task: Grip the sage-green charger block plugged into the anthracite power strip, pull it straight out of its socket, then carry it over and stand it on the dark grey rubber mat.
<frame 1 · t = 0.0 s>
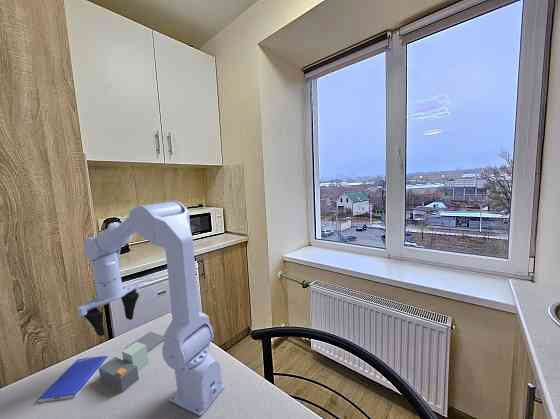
hand: (115, 326, 66), 10 cm above the table, tool pointing down, fingers open, 7 cm apart
mat: (147, 343, 74), on the table
charger: (137, 367, 65), on the table
power strip: (119, 379, 61), on the table
blue book: (77, 380, 62), on the table
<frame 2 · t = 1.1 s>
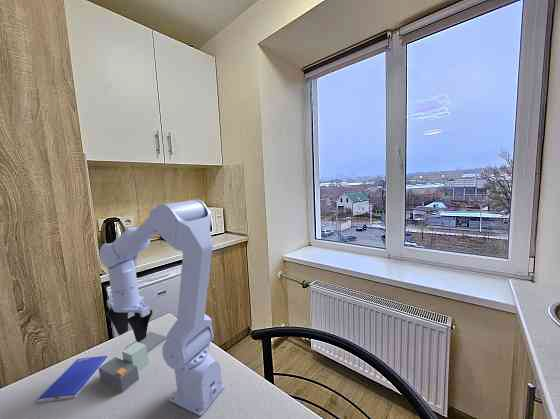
hand: (132, 336, 63), 9 cm above the table, tool pointing down, fingers open, 7 cm apart
nothing on the table moved.
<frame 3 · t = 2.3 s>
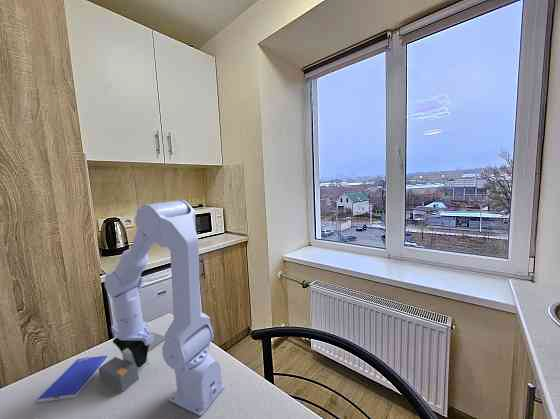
hand: (136, 362, 64), 1 cm above the table, tool pointing down, fingers closed on charger, 4 cm apart
charger: (137, 366, 65), on the table, touching gripper
everything else where it was.
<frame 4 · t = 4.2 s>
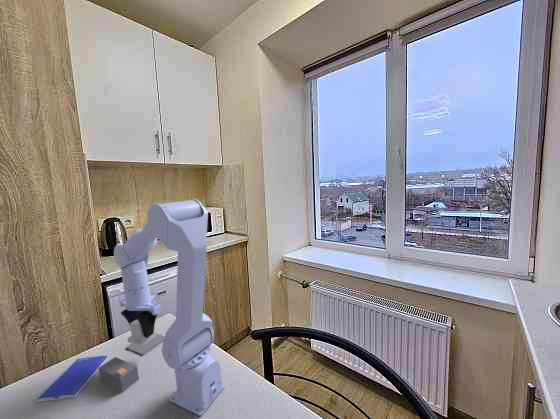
hand: (143, 333, 66), 8 cm above the table, tool pointing down, fingers closed on charger, 4 cm apart
charger: (144, 339, 66), point 6 cm above the table, touching gripper
everything else where it was.
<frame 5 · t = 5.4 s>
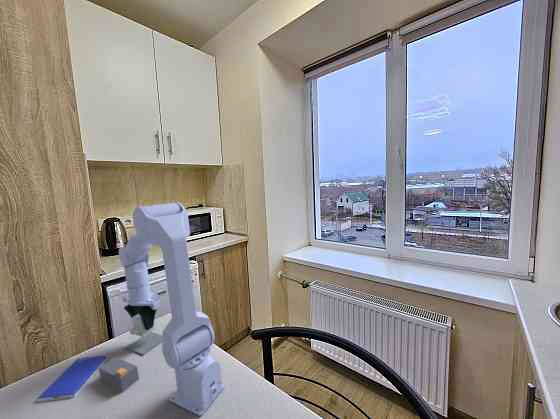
hand: (144, 326, 73), 5 cm above the table, tool pointing down, fingers closed on charger, 4 cm apart
charger: (145, 331, 74), point 4 cm above the table, touching gripper
everything else where it was.
when the fingers open (3 cm above the table, at t = 6.2 s): charger drops 1 cm, resting on mat.
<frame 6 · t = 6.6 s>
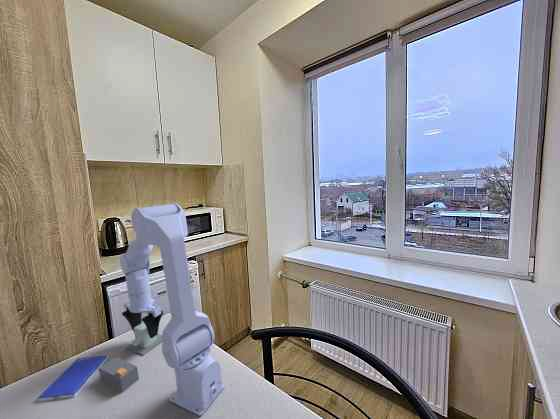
hand: (145, 333, 74), 3 cm above the table, tool pointing down, fingers open, 7 cm apart
charger: (146, 342, 74), resting on mat
everything else where it was.
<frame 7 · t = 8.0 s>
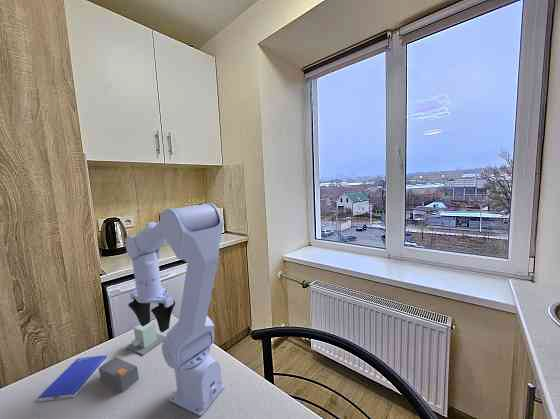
hand: (155, 327, 65), 10 cm above the table, tool pointing down, fingers open, 7 cm apart
nothing on the table moved.
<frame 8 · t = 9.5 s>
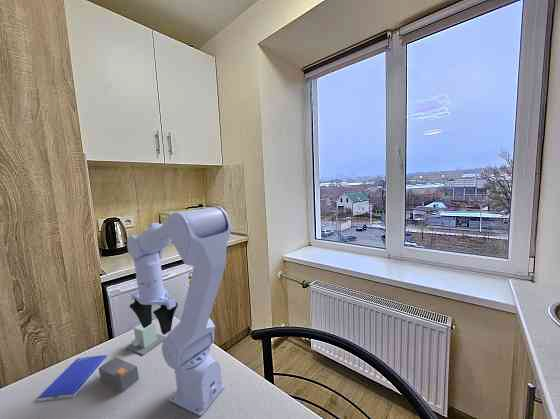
hand: (156, 328, 63), 10 cm above the table, tool pointing down, fingers open, 7 cm apart
nothing on the table moved.
at the end: charger inside the target area on the mat (0.0 cm from its centre), point 0.4 cm above the mat's base; charger tilted 0°; the gripper is holding nothing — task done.
